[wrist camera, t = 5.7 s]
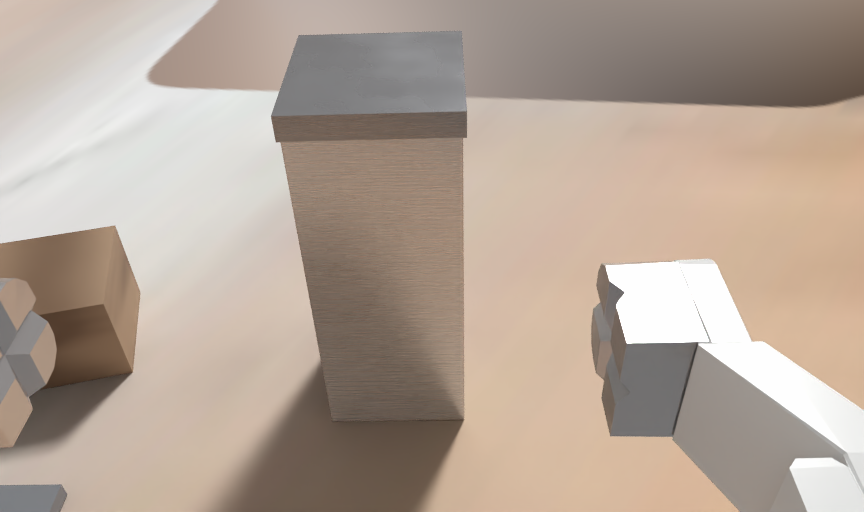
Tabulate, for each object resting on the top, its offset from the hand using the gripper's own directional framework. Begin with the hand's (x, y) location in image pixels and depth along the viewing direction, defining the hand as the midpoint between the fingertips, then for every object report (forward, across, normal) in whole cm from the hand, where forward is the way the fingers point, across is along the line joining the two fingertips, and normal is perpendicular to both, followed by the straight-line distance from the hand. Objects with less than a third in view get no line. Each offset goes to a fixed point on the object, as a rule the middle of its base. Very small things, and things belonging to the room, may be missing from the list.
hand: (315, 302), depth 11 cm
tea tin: (+12, 0, +15) cm, 20 cm away
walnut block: (+14, +14, +15) cm, 25 cm away
